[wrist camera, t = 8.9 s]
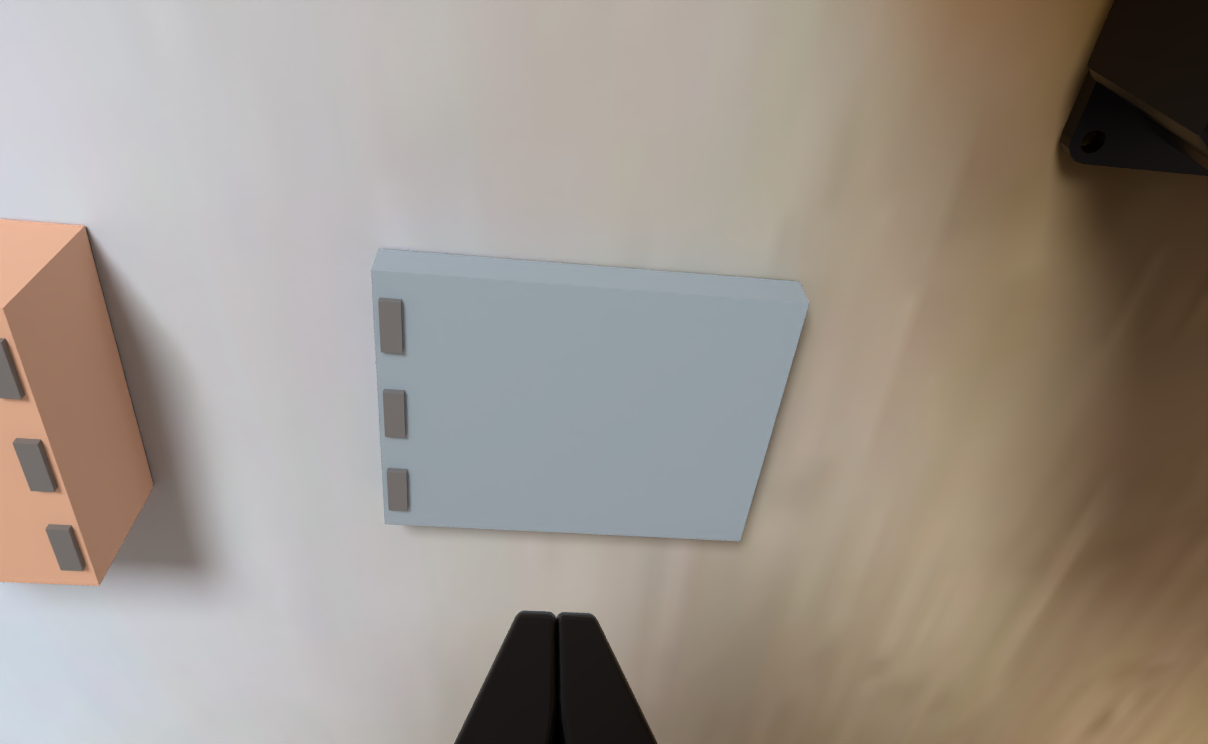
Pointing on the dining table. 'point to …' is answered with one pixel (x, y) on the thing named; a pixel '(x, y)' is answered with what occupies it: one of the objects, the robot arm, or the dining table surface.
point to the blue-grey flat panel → (576, 394)
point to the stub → (62, 413)
